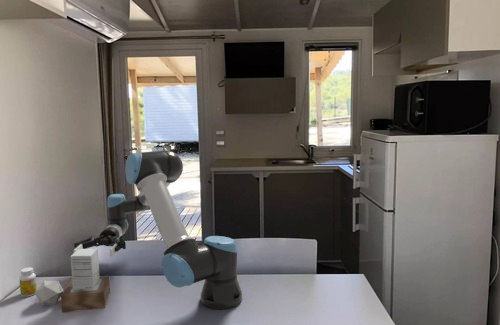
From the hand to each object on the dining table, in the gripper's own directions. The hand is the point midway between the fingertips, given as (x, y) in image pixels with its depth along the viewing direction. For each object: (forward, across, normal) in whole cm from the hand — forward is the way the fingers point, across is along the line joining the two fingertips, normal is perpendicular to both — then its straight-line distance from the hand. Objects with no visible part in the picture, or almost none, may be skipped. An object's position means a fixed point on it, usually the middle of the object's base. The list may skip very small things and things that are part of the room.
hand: (92, 253), depth 148 cm
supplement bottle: (+1, +24, -15) cm, 29 cm away
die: (+8, +13, -15) cm, 22 cm away
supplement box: (+8, 0, -9) cm, 12 cm away
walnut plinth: (+8, 0, -15) cm, 17 cm away
